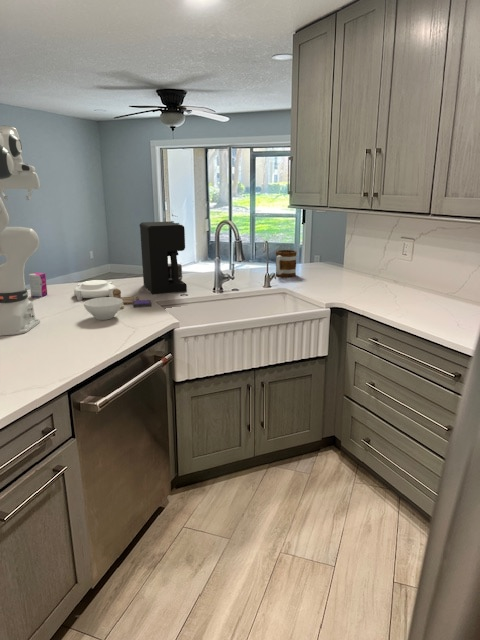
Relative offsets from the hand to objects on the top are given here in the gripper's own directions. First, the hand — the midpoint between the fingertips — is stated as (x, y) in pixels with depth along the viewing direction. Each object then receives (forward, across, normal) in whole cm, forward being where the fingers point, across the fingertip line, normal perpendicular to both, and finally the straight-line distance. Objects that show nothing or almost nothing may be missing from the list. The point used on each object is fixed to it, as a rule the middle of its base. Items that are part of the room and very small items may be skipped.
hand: (17, 200), depth 202 cm
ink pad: (+48, +51, -11) cm, 71 cm away
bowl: (+48, +35, -29) cm, 66 cm away
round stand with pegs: (+49, +28, +14) cm, 58 cm away
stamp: (+48, +40, -14) cm, 64 cm away
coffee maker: (+48, +64, +21) cm, 83 cm away
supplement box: (+48, 0, +19) cm, 52 cm away
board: (+48, +43, -3) cm, 65 cm away
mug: (+48, +137, +40) cm, 151 cm away
